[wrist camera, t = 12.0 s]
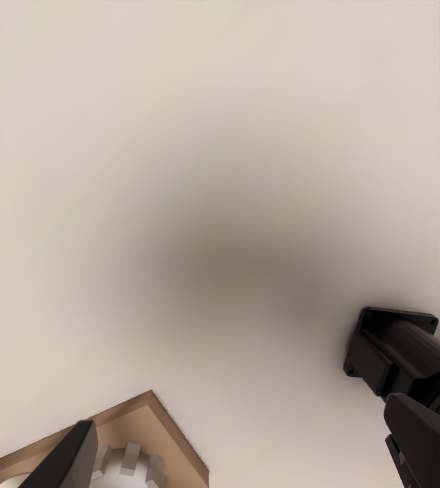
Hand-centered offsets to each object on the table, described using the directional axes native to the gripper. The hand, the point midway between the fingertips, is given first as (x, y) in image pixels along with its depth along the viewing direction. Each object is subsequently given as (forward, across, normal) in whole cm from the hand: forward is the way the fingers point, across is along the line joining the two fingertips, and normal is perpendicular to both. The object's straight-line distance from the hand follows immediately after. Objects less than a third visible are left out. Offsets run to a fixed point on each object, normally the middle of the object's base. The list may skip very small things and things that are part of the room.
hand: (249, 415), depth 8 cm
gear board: (+13, +12, +21) cm, 27 cm away
